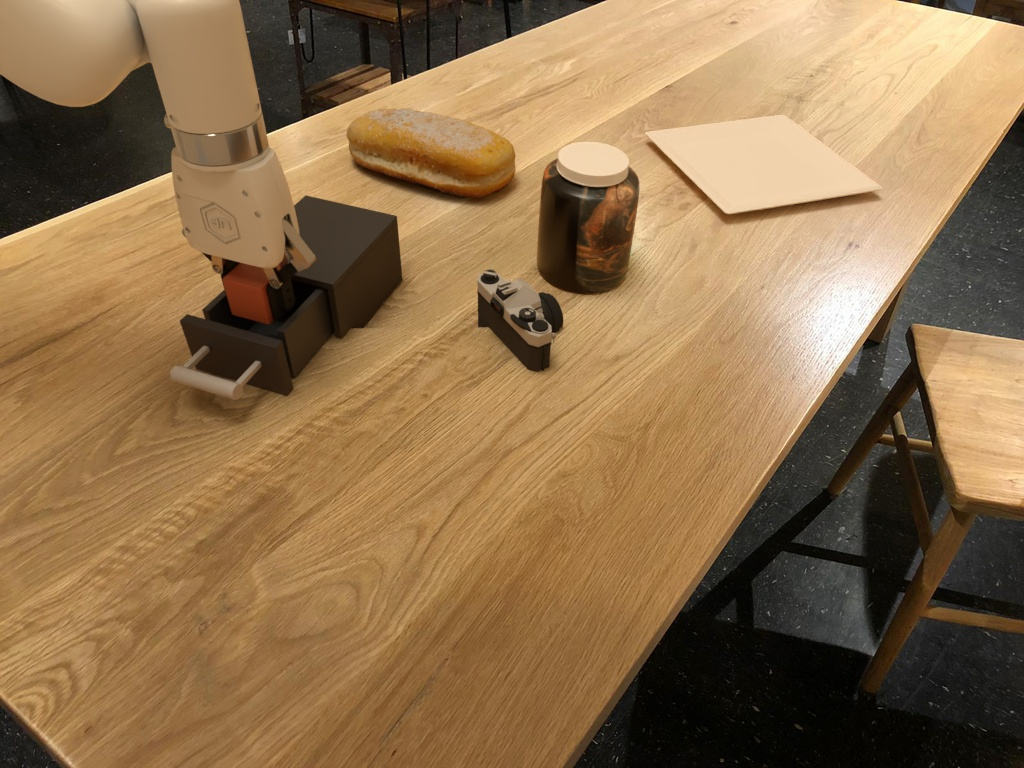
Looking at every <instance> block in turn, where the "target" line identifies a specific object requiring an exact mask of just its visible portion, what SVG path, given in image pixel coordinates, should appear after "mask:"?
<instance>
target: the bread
mask: <svg viewBox="0 0 1024 768" xmlns="http://www.w3.org/2000/svg"><path fill="white" fill-rule="evenodd" d="M346 138H347V140H348V150H349V154H350V156H351V157H352V159H353V160H354V162H355V163H356V164H357V165H359V166H360V167H362V168H365V169H368V170H370V171H373V172H375V173H379V174H384V175H386V176H389V177H393V178H395V179H399V180H401V181H402V180H403V181H405V182H408V183H411V184H413V185H416V186H419V187H421V188H425V189H429V190H433V191H437V192H439V193H440V192H441V193H445V194H449V195H452V196H455V197H459V198H463V199H464V198H466V199H478V198H482V197H487V196H490V195H493V194H496V193H498V192H500V191H502V190H503V189H505V188H506V187H508V185H509V183H510V182H511V181H512V180H513V179H514V177H515V174H516V170H517V168H516V167H517V166H516V152H515V148H514V145H513V144H512V143H511V141H510V140H508V139H507V138H506V137H504V136H503V135H500V134H498V133H497V132H495V131H493V130H490V129H488V128H485V127H484V126H480V125H477V124H474V123H472V122H469V121H466V120H464V119H460V118H457V117H453V116H448V115H442V114H438V113H434V112H429V111H428V112H427V111H421V110H417V109H412V108H409V107H408V108H403V107H402V108H379V109H375V110H371V111H368V112H366V113H364V114H362V115H360V116H359V117H357V118H355V119H354V120H353V121H352V122H350V123H349V125H348V127H347V129H346Z"/></svg>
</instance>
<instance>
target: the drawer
mask: <svg viewBox="0 0 1024 768" xmlns="http://www.w3.org/2000/svg"><path fill="white" fill-rule="evenodd" d="M291 282H292V287H293V292H294V296H295V305H294V306H293V307H292V308H291V309H290V310H289V311H288V312H287V313H286V314H285V316H284V317H283V318H282V319H281V320H276V319H275V320H274V321H273V322H272V323H271V324H270V325H268V324H265V323H261V322H257V321H254V320H250V319H247V318H243V317H239V316H236V315H232V312H231V309H230V307H229V304H228V300H227V297H226V293H225V290H224V289H223V290H222V291H220V293H219V294H218V295H216V296H215V297H214V298H213V299H212V300H211V301H210V302H208V304H206V305H205V306H204V307H203V308H202V309H201V310H202V313H203V314H202V315H203V317H204V318H202V317H198V316H195V315H191V314H188V313H186V314H185V316H183V317H182V318H181V319H179V323H180V326H181V329H182V332H183V335H184V339H185V341H186V344H187V346H188V349H189V352H190V355H191V357H190V358H189V359H188V360H187V361H186V362H185V363H184V364H183V365H174V366H173V367H172V368H171V370H170V372H169V379H170V380H171V381H172V382H174V383H177V384H180V385H184V386H187V387H190V388H194V389H198V390H200V391H204V392H207V393H210V394H213V395H216V396H219V397H223V398H226V399H229V400H232V401H238V400H239V399H240V398H241V397H242V395H243V391H244V386H245V385H248V386H251V387H254V388H258V389H261V390H265V391H268V392H271V393H275V394H277V395H281V396H284V397H288V396H289V395H290V394H291V393H292V392H293V391H294V386H293V381H292V379H296V378H297V377H298V376H299V374H300V373H301V372H302V371H304V369H305V368H306V367H307V366H308V364H309V363H310V362H311V361H312V359H313V358H314V357H315V356H316V355H317V354H318V353H319V352H320V350H321V349H322V348H323V347H324V346H325V344H327V342H328V341H329V340H330V339H331V337H332V336H333V335H335V331H334V325H333V319H332V313H331V308H330V302H329V296H328V290H327V289H326V288H322V287H318V286H314V285H310V284H306V283H302V282H298V281H294V280H291ZM193 368H195V369H193Z"/></svg>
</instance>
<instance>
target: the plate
mask: <svg viewBox="0 0 1024 768" xmlns="http://www.w3.org/2000/svg"><path fill="white" fill-rule="evenodd" d="M644 134H645V136H646V137H647V138H648V139H649V140H650V141H651V142H652V143H653V144H654V145H655V146H656V147H657V148H658V149H659V150H660V151H661V152H662V153H663V154H664V155H665V156H666V157H667V158H668V159H669V160H670V161H671V162H672V163H673V164H674V165H675V166H677V168H678V169H679V170H680V171H682V173H683V174H685V176H686V177H687V178H689V180H691V182H692V183H693V184H694V185H695V186H697V188H699V189H700V191H702V192H703V194H705V195H706V196H707V198H708V199H710V200H711V201H712V202H713V203H714V204H715V206H717V207H718V208H719V209H720V210H721V211H722V212H723V214H726V215H728V216H730V215H731V216H732V215H738V214H742V213H743V214H744V213H749V212H755V211H761V210H767V209H774V208H778V207H786V206H792V205H793V206H794V205H797V204H805V203H810V202H816V201H823V200H829V199H835V198H841V197H847V196H853V195H860V194H866V193H872V192H878V191H881V190H882V189H883V186H882V185H880V184H879V183H877V182H876V181H875V180H873V179H872V178H871V177H869V176H868V175H866V174H865V173H864V172H863V171H861V170H860V169H858V168H857V167H856V166H855V165H854V164H852V163H850V162H849V161H848V160H846V159H845V158H844V157H842V156H841V155H840V154H838V153H837V152H836V151H834V150H833V149H831V148H830V147H829V146H827V145H826V144H825V143H823V142H822V141H820V139H818V138H816V137H815V136H814V135H813V134H811V133H810V132H809V131H807V130H806V129H805V128H803V127H801V126H800V125H799V124H798V123H796V122H795V121H793V120H792V119H791V118H789V116H787V115H785V114H774V115H767V116H759V117H751V118H743V119H736V120H735V119H734V120H728V121H720V122H713V123H703V124H695V125H688V126H681V127H673V128H665V129H657V130H650V131H645V132H644Z"/></svg>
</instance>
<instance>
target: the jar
mask: <svg viewBox="0 0 1024 768" xmlns="http://www.w3.org/2000/svg"><path fill="white" fill-rule="evenodd" d="M639 198H640V179H639V176H638V173H636V171H635V170H634V169H633V167H630V159H629V156H628V155H627V153H625V152H624V151H623V150H622V149H619V148H618V147H616V146H613V145H611V144H607V143H604V142H600V141H599V142H598V141H577V142H572V143H568V144H566V145H565V146H562V148H560V149H559V151H558V153H557V158H555V159H553V160H552V161H550V162H549V163H548V164H547V165H546V167H545V169H544V171H543V175H542V179H541V189H540V200H539V202H540V203H539V211H538V212H539V213H538V228H537V244H536V245H537V247H536V248H537V249H536V267H537V270H538V273H539V275H540V276H541V277H542V278H543V279H544V280H545V281H546V282H548V283H549V284H550V285H552V286H553V287H556V288H558V289H560V290H564V291H566V292H569V293H575V294H581V295H594V294H595V295H597V294H602V293H606V292H610V291H612V290H614V289H617V288H618V287H619V286H620V285H622V284H623V282H624V281H625V280H626V278H627V275H628V270H629V265H630V259H631V253H632V246H633V240H634V234H635V226H636V222H637V215H638V214H637V212H638V206H639Z"/></svg>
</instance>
